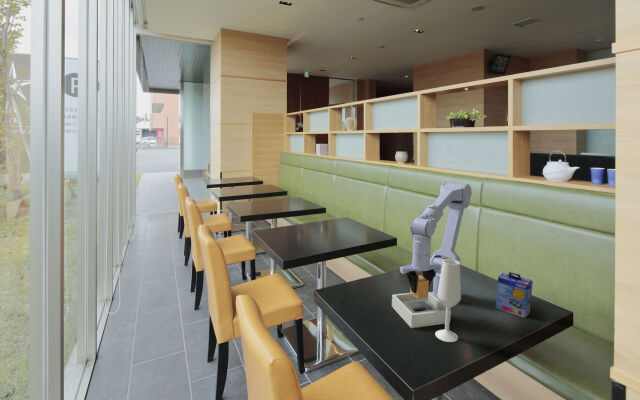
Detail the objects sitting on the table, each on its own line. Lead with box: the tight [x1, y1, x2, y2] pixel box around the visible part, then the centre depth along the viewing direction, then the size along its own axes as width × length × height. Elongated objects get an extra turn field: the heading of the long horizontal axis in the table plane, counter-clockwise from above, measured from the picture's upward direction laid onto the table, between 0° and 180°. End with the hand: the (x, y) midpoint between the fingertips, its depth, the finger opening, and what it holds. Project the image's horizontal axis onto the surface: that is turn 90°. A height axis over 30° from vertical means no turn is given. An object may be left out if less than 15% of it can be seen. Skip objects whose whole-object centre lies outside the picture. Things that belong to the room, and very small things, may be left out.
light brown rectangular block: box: [409, 274, 430, 299], centre depth 119 cm, size 4×5×6 cm
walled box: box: [391, 291, 452, 329], centre depth 120 cm, size 14×15×4 cm
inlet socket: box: [401, 298, 439, 314], centre depth 120 cm, size 10×10×3 cm
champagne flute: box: [434, 258, 462, 343], centre depth 105 cm, size 7×7×24 cm
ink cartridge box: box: [495, 271, 534, 319], centre depth 121 cm, size 10×6×14 cm, turn 45°
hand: (419, 291), depth 119 cm, fingers closed on light brown rectangular block, 4 cm apart
